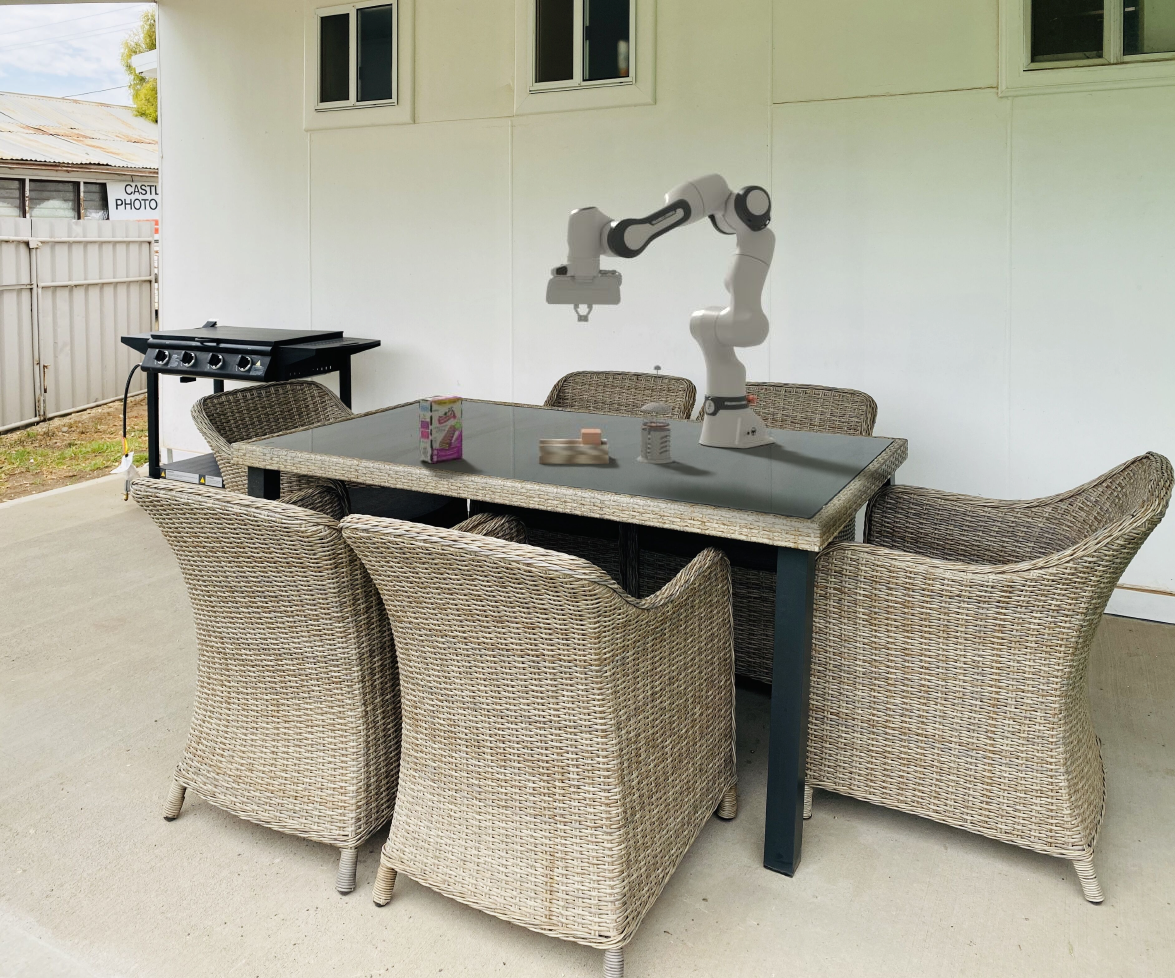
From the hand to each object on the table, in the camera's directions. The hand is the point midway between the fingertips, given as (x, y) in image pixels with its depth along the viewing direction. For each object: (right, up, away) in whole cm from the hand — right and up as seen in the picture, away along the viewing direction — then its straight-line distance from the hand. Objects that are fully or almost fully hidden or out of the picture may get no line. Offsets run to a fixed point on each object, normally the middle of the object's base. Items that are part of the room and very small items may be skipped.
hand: (582, 321), depth 264 cm
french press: (+19, -38, -7) cm, 43 cm away
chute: (-2, -38, -6) cm, 38 cm away
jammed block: (+2, -35, -7) cm, 36 cm away
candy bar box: (-37, -38, -9) cm, 54 cm away
